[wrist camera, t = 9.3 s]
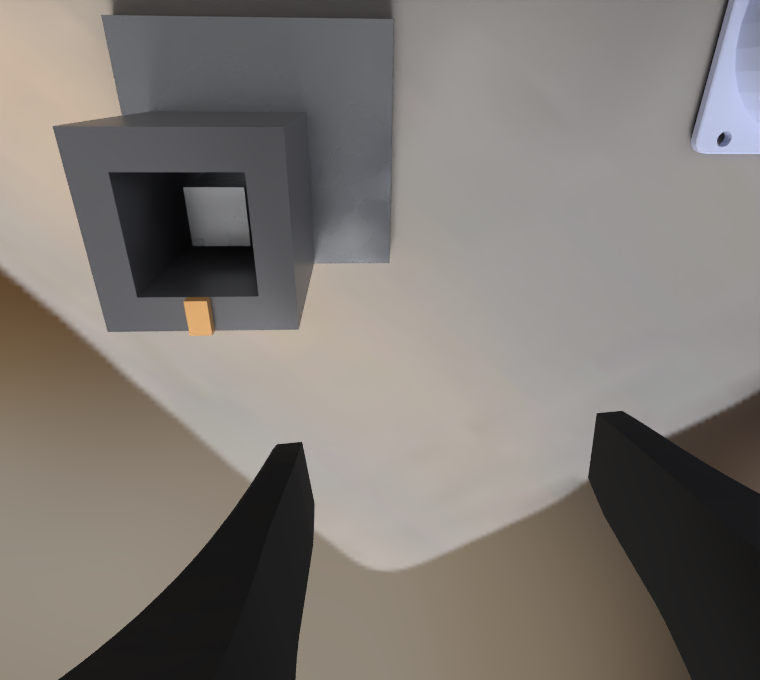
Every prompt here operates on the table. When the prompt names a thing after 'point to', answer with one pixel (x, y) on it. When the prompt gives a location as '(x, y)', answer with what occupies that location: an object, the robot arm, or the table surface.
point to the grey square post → (219, 210)
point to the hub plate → (281, 102)
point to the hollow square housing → (171, 225)
